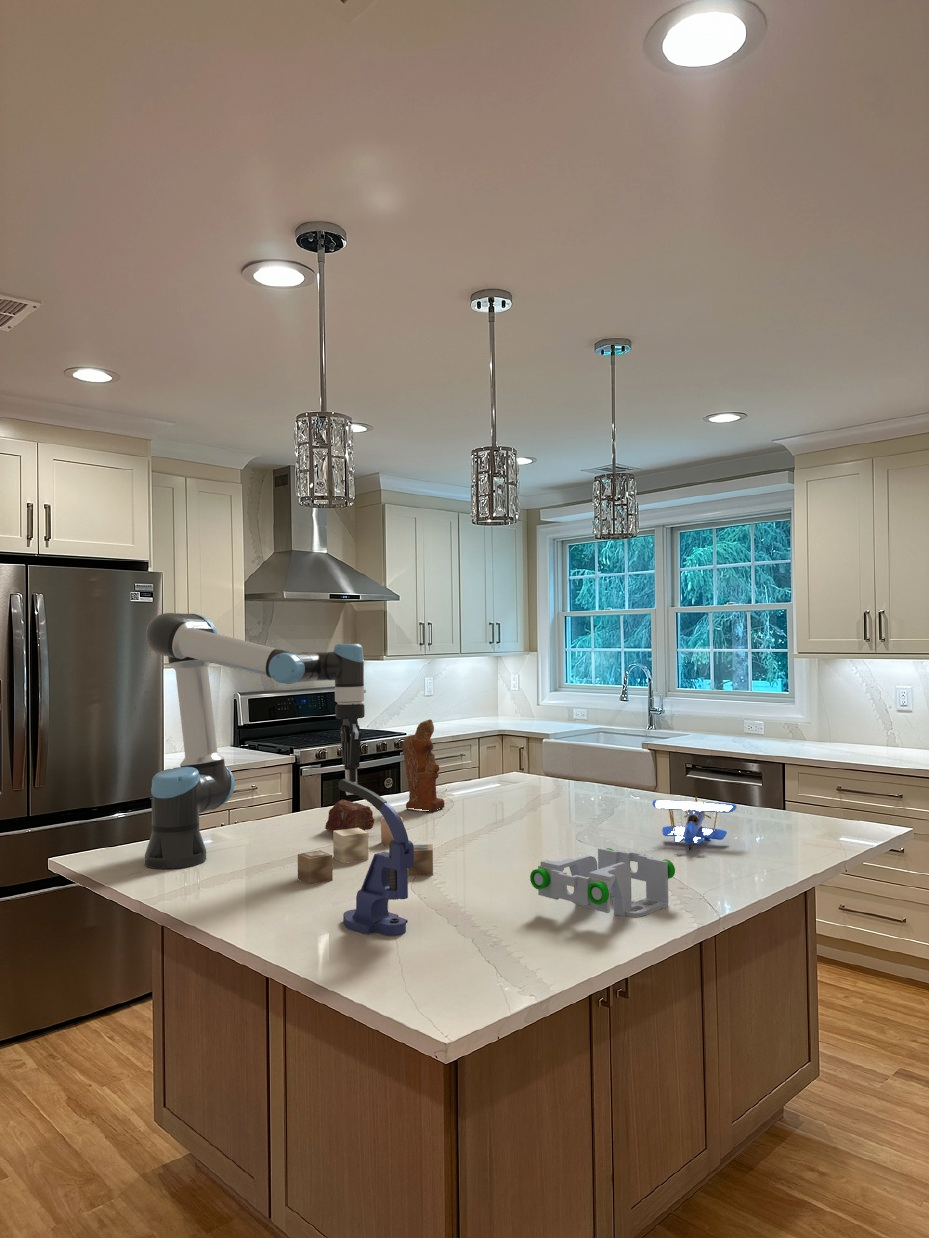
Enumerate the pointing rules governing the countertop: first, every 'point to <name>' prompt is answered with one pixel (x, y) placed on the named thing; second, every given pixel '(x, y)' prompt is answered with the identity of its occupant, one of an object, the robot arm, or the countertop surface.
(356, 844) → the maple block
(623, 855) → the bracket
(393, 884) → the hand press
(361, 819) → the rock
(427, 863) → the walnut block
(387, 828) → the peach rounded cylinder
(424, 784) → the sculpture
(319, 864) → the walnut block
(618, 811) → the countertop surface
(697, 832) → the airplane toy
